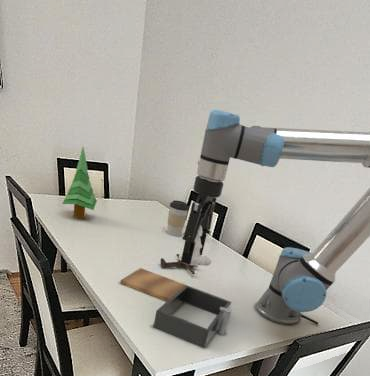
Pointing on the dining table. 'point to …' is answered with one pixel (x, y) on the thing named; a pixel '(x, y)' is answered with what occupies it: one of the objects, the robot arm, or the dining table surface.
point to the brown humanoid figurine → (177, 264)
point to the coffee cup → (177, 217)
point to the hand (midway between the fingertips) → (191, 258)
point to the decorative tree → (81, 190)
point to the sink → (187, 328)
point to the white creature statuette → (197, 251)
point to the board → (152, 284)
